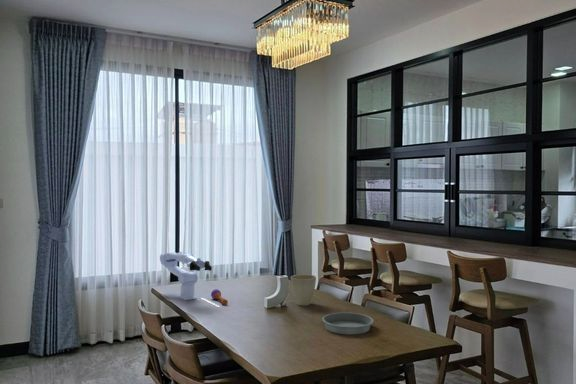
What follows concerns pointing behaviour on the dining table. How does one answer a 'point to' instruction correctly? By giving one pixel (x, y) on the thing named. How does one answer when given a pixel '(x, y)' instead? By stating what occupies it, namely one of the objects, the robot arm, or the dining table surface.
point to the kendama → (218, 296)
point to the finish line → (210, 302)
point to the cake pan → (347, 323)
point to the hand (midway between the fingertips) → (205, 269)
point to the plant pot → (303, 288)
